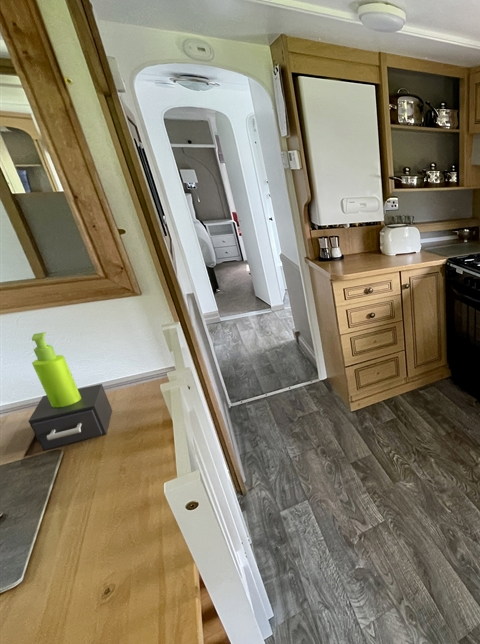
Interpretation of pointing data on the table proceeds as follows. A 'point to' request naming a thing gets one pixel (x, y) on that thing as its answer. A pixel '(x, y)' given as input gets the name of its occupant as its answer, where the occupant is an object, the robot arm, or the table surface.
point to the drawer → (67, 429)
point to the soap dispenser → (54, 374)
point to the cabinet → (77, 408)
